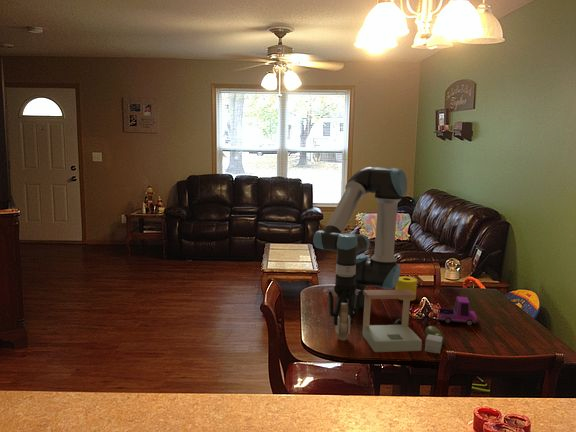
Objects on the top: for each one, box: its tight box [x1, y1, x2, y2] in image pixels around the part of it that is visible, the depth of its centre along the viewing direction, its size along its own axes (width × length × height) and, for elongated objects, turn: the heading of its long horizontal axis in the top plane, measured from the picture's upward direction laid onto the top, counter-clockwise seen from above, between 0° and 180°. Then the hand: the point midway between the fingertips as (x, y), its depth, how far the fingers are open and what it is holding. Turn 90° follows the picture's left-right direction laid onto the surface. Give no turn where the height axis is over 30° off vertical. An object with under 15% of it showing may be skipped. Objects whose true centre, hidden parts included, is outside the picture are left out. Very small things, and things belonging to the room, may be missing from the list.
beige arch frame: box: [362, 289, 417, 328], centre depth 204 cm, size 6×19×14 cm, turn 98°
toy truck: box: [437, 295, 478, 326], centre depth 226 cm, size 11×16×10 cm
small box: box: [424, 334, 444, 354], centre depth 195 cm, size 6×6×5 cm
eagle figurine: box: [393, 317, 412, 326], centre depth 216 cm, size 8×7×9 cm
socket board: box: [361, 324, 423, 353], centre depth 200 cm, size 16×18×4 cm
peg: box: [337, 303, 349, 341], centre depth 202 cm, size 4×4×14 cm
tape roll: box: [394, 275, 418, 302], centre depth 255 cm, size 10×10×9 cm
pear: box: [424, 325, 446, 346], centre depth 203 cm, size 6×5×10 cm
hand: (342, 332), depth 203 cm, fingers closed on peg, 3 cm apart
